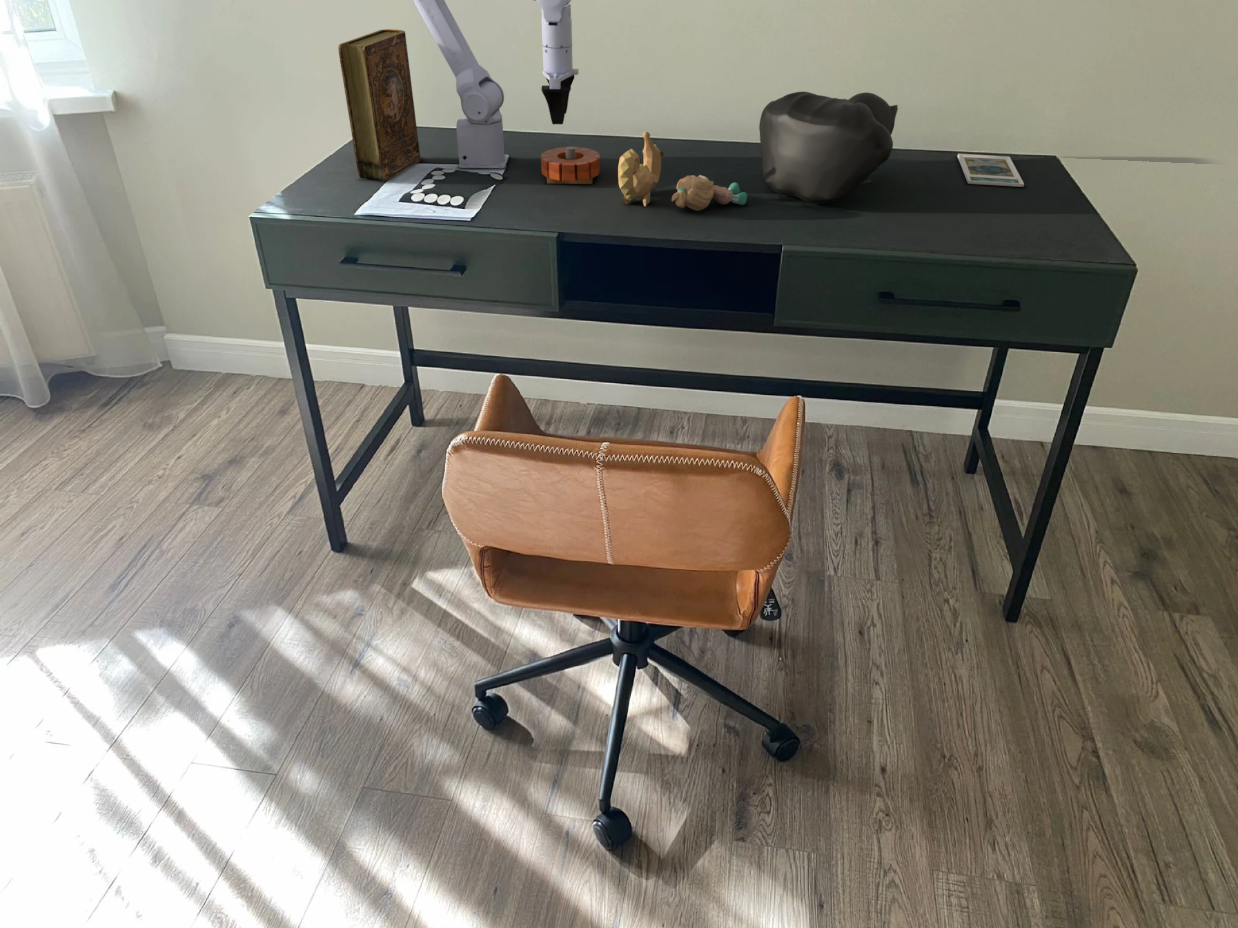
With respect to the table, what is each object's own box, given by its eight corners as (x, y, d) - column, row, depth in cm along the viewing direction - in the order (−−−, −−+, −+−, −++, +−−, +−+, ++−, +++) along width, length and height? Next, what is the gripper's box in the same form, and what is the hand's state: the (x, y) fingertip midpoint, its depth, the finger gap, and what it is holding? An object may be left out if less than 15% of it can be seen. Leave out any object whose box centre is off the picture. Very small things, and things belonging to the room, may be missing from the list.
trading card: (1009, 156, 193) (1024, 184, 178) (1008, 159, 193) (1023, 187, 179) (957, 153, 194) (968, 180, 180) (957, 156, 195) (967, 183, 180)
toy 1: (608, 151, 157) (644, 120, 173) (608, 218, 165) (643, 182, 180) (637, 154, 156) (671, 122, 171) (636, 222, 163) (668, 186, 178)
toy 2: (756, 182, 167) (686, 163, 160) (749, 220, 168) (679, 204, 161) (732, 185, 174) (664, 168, 167) (726, 222, 175) (658, 206, 169)
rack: (546, 183, 179) (545, 154, 176) (550, 169, 187) (549, 141, 183) (592, 184, 179) (591, 155, 176) (594, 169, 187) (593, 141, 183)
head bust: (729, 108, 167) (820, 47, 181) (734, 206, 182) (819, 142, 195) (860, 139, 152) (950, 69, 166) (856, 243, 166) (938, 171, 180)
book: (400, 156, 193) (383, 29, 178) (423, 159, 192) (408, 30, 177) (359, 180, 180) (337, 45, 166) (383, 183, 179) (363, 47, 164)
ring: (539, 181, 177) (538, 164, 175) (544, 162, 187) (544, 146, 185) (598, 181, 177) (598, 165, 175) (601, 163, 186) (600, 147, 184)
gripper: (575, 54, 168) (576, 129, 176) (580, 38, 180) (581, 109, 188) (537, 53, 168) (540, 128, 176) (545, 37, 180) (547, 108, 188)
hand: (559, 118), depth 182 cm, fingers open, 7 cm apart
